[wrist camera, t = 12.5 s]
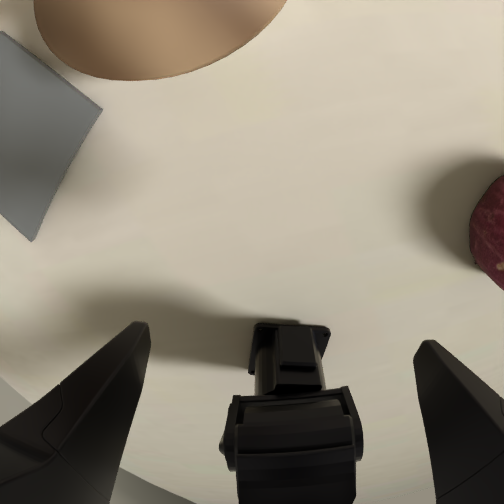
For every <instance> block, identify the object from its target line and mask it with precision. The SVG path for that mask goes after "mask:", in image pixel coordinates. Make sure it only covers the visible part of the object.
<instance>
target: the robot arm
mask: <svg viewBox="0 0 504 504" xmlns="http://www.w3.org/2000/svg"><path fill="white" fill-rule="evenodd" d="M259 329H262V330H259ZM323 333H325V334H323ZM330 336H331V332H330V329H329V328H325V327H307V326H291V325H277V324H265V323H258V324H256V325H255V327H254V333H253V339H252V346H251V353H250V359H249V366H248V373H249V374H250V375H255V396H241V395H233V399H232V403H230V406H229V408H228V416H227V421H226V426H225V431H224V433H223V436H222V438H221V441H220V443H219V451H220V452H221V453H222V454H223V455H224V456H225V459H226V461H227V466H228V469H229V471H236V480H237V494H238V499H239V504H352V503H353V501H354V499H355V497H356V462H357V461H360V460H361V459H362V456H363V447H364V446H363V431H362V425H361V421H360V418H359V415H358V412H357V409H356V407H355V404H354V401H353V398H352V396H351V393H350V390H349V388H348V386H343V387H341V388H336V389H328V390H326V385H325V379H324V373H323V367H322V361H321V360H322V357H323V355H324V352H325V349H326V347H327V344H328V341H329V338H330ZM150 348H151V339H150V332H149V326H148V323H146V322H142V321H134V322H132V323H131V324H130V325H129V326H127V327H126V328H125V329H124V330H123V331H121V332H120V333H119V334H118V335H117V336H115V337H114V338H113V339H112V340H110V341H109V342H108V343H107V344H106V345H104V346H103V347H102V348H101V349H100V350H98V351H97V352H96V353H95V354H94V355H92V356H91V357H90V358H89V359H88V360H86V361H85V362H84V363H83V364H82V365H80V366H79V367H78V368H77V369H76V370H75V371H73V372H72V373H71V374H70V375H69V376H67V377H66V378H65V379H64V380H63V381H61V382H60V385H59V384H58V385H57V386H55V387H54V388H53V389H52V390H51V391H50V392H48V393H47V394H46V395H45V396H43V397H42V398H41V399H40V400H38V401H37V402H36V403H34V404H33V405H32V406H30V407H29V408H27V409H26V410H24V411H23V412H21V413H20V414H19V415H17V416H15V417H14V418H12V419H11V420H9V421H8V422H7V423H5V424H4V425H2V426H1V427H0V504H109V503H110V502H109V501H110V498H111V495H112V491H113V487H114V483H115V480H116V476H117V472H118V468H119V465H120V461H121V458H122V454H123V451H124V447H125V444H126V441H127V437H128V434H129V431H130V427H131V424H132V421H133V417H134V414H135V411H136V408H137V405H138V401H139V398H140V395H141V392H142V388H143V383H144V378H145V373H146V368H147V363H148V358H149V353H150ZM413 364H414V371H415V378H416V385H417V392H418V399H419V404H420V409H421V413H422V418H423V423H424V427H425V432H426V438H427V443H428V448H429V454H430V460H431V466H432V473H433V480H434V487H435V495H436V504H504V399H503V398H502V397H500V396H499V395H498V394H497V393H496V392H495V391H494V390H493V389H491V388H490V387H489V386H488V385H487V384H486V383H485V382H483V381H482V380H481V379H480V378H479V377H478V376H477V375H475V374H474V373H473V372H472V371H471V370H470V369H469V368H467V367H466V366H465V365H464V364H463V363H462V362H460V361H459V360H458V359H457V358H456V357H454V356H453V355H452V354H451V353H450V352H449V351H447V350H446V349H445V348H444V347H443V346H441V345H440V344H439V343H438V342H437V341H435V340H424V341H423V342H422V343H421V345H420V347H419V349H418V350H417V352H416V354H415V356H414V359H413Z"/></svg>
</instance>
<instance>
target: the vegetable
mask: <svg viewBox="0 0 504 504" xmlns="http://www.w3.org/2000/svg"><path fill="white" fill-rule="evenodd" d="M469 232H470V249H471V253H472V254H473V257H474V259H475V260H474V261H475V262H474V263H475V264H478V265H479V266H480V268H481V269H482V270H483V271H484V272H485V273H486V274H487V275H488V276H489V277H490V278H491V279H492V280H493V281H494V282H495V283H496V284H497V285H498V286H499V287H500V288H501V289H502V290H504V175H503V176H501V177H500V178H498V179H497V180H496V181H495V182H494V183H493V184H492V185H491V186H490V187H489V189H488V190H487V192H486V193H485V194H484V195H483V197H482V198H481V199H480V201H479V203H478V204H477V206H476V208H475V210H474V212H473V214H472V218H471V219H470V231H469Z"/></svg>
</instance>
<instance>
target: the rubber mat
mask: <svg viewBox="0 0 504 504" xmlns="http://www.w3.org/2000/svg"><path fill="white" fill-rule="evenodd" d="M102 110H103V109H102V108H100V107H99V106H98V105H97V104H95V103H94V102H93V101H92V100H90V99H89V98H88V97H87V96H85V95H84V94H83V93H82V92H80V91H79V90H78V89H76V88H75V87H74V86H73V85H71V84H70V83H69V82H68V81H66V80H65V79H64V78H63V77H61V76H60V75H59V74H57V73H56V72H55V71H54V70H52V69H51V68H50V67H49V66H47V65H46V64H45V63H43V62H42V61H41V60H40V59H38V58H37V57H36V56H34V55H33V54H32V53H31V52H29V51H28V50H27V49H25V48H24V47H23V46H21V45H20V44H19V43H18V42H16V41H15V40H14V39H12V38H11V37H10V36H8V35H7V34H6V33H4V32H3V31H0V214H1V215H2V216H3V217H4V218H5V219H6V220H8V221H9V222H10V223H11V224H12V225H13V226H14V227H15V228H16V229H17V230H18V231H19V232H20V233H21V234H23V235H24V236H25V237H26V238H27V239H28V240H29V241H30V242H32V241H33V240H34V239H35V238H36V235H37V233H38V230H39V228H40V226H41V223H42V221H43V219H44V216H45V214H46V212H47V210H48V208H49V205H50V203H51V201H52V199H53V197H54V195H55V193H56V191H57V189H58V187H59V185H60V183H61V181H62V179H63V177H64V175H65V173H66V171H67V169H68V167H69V166H70V164H71V162H72V160H73V158H74V156H75V155H76V153H77V151H78V149H79V148H80V146H81V144H82V143H83V141H84V139H85V137H86V136H87V134H88V133H89V131H90V129H91V128H92V126H93V124H94V123H95V121H96V120H97V118H98V117H99V115H100V114H101V112H102Z"/></svg>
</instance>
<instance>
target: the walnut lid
mask: <svg viewBox="0 0 504 504" xmlns="http://www.w3.org/2000/svg"><path fill="white" fill-rule="evenodd" d="M286 1H287V0H34V11H35V18H36V22H37V26H38V29H39V31H40V33H41V36H42V38H43V40H44V41H45V43H46V44H47V46H48V47H49V49H50V50H51V51H52V52H53V53H54V54H55V55H56V56H57V57H58V58H59V59H60V60H61V61H63V62H64V63H66V64H67V65H68V66H70V67H72V68H74V69H76V70H78V71H80V72H82V73H85V74H88V75H91V76H94V77H97V78H103V79H109V80H123V81H140V80H156V79H162V78H168V77H174V76H178V75H181V74H185V73H189V72H192V71H195V70H197V69H200V68H203V67H205V66H208V65H210V64H212V63H214V62H216V61H218V60H220V59H222V58H224V57H227V56H228V55H230V54H231V53H233V52H234V51H236V50H238V49H239V48H241V47H243V46H244V45H245V44H246V43H248V42H249V41H250V40H252V39H253V38H254V37H256V36H257V35H258V34H259V33H260V32H261V31H262V30H263V29H264V28H265V27H266V26H267V25H268V24H270V23H271V21H272V20H273V19H274V18H275V16H276V15H277V14H278V13H279V12H280V10H281V9H282V7H283V6H284V4H285V3H286Z"/></svg>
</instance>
